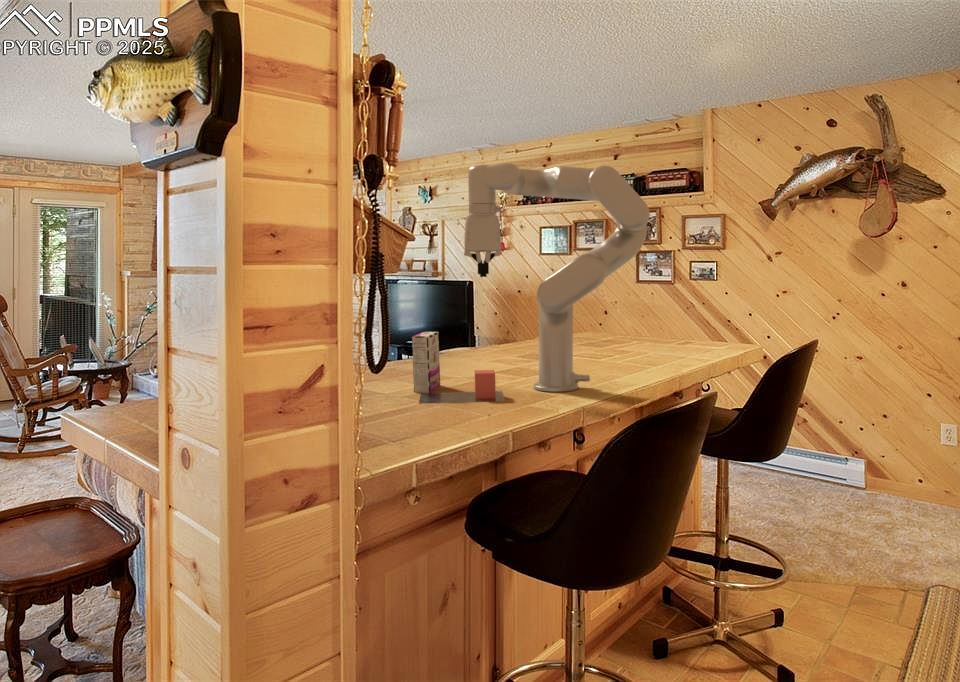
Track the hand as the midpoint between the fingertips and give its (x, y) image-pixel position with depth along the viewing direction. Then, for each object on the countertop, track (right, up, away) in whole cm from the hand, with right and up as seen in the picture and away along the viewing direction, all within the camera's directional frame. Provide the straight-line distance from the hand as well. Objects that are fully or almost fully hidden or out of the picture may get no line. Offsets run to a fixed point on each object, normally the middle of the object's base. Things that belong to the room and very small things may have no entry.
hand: (483, 276), depth 185 cm
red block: (0, -33, -13) cm, 35 cm away
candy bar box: (-16, -33, -1) cm, 36 cm away
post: (-6, -34, -14) cm, 37 cm away
